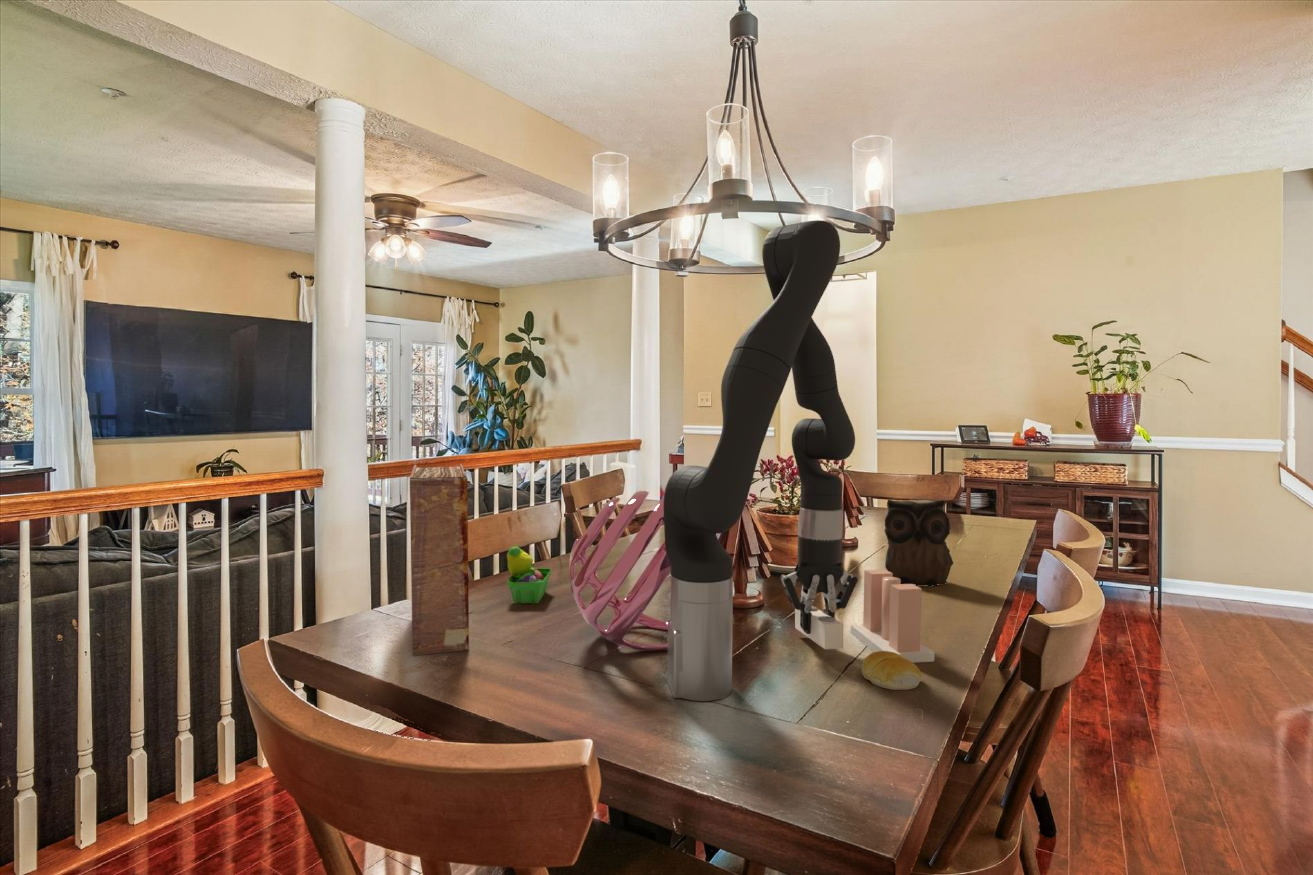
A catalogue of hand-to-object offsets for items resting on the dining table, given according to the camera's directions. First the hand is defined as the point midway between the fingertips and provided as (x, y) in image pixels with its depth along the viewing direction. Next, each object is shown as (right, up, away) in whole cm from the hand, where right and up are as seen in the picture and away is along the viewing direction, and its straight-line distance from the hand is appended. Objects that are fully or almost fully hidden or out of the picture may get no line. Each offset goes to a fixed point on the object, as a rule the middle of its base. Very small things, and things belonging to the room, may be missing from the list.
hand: (817, 631), depth 119 cm
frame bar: (0, -1, 0) cm, 1 cm away
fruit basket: (-56, -1, +30) cm, 64 cm away
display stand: (+13, -3, +1) cm, 13 cm away
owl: (+35, -1, +45) cm, 57 cm away
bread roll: (+8, -4, -13) cm, 16 cm away
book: (-68, -2, +9) cm, 69 cm away
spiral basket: (-31, -3, +5) cm, 32 cm away
